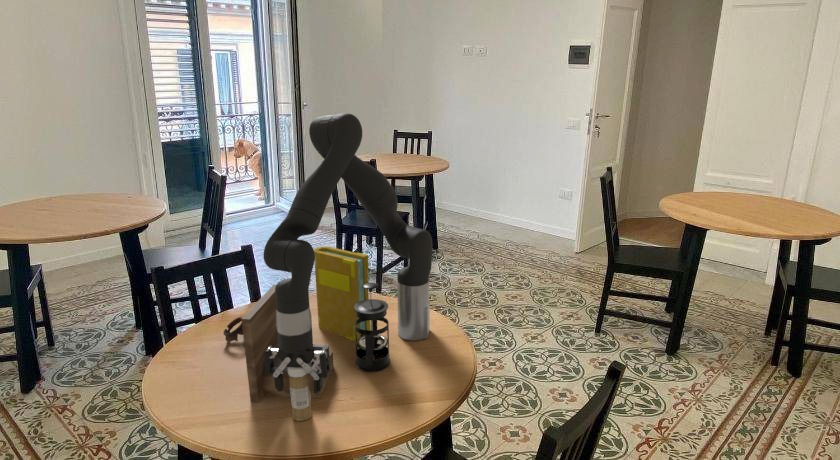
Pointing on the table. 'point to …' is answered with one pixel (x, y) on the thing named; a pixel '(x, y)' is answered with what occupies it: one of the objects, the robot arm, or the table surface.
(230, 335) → the pottery mug
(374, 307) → the french press
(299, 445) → the table surface
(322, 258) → the book
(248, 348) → the brown wooden holder
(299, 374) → the sprinkles bottle
